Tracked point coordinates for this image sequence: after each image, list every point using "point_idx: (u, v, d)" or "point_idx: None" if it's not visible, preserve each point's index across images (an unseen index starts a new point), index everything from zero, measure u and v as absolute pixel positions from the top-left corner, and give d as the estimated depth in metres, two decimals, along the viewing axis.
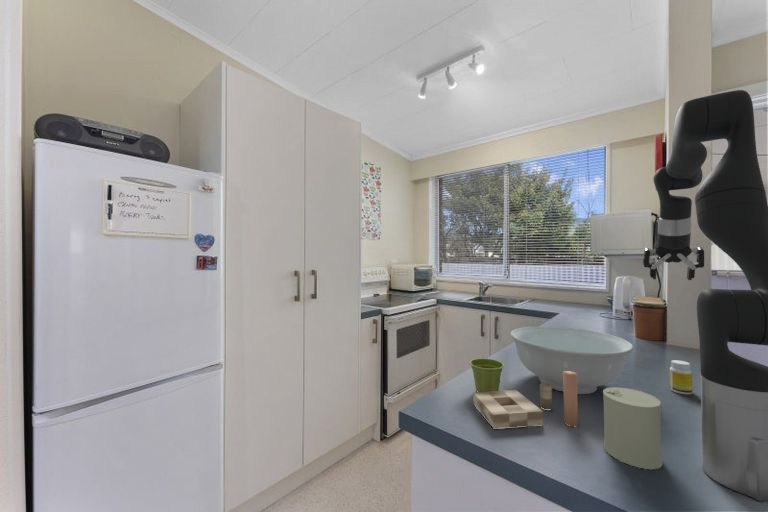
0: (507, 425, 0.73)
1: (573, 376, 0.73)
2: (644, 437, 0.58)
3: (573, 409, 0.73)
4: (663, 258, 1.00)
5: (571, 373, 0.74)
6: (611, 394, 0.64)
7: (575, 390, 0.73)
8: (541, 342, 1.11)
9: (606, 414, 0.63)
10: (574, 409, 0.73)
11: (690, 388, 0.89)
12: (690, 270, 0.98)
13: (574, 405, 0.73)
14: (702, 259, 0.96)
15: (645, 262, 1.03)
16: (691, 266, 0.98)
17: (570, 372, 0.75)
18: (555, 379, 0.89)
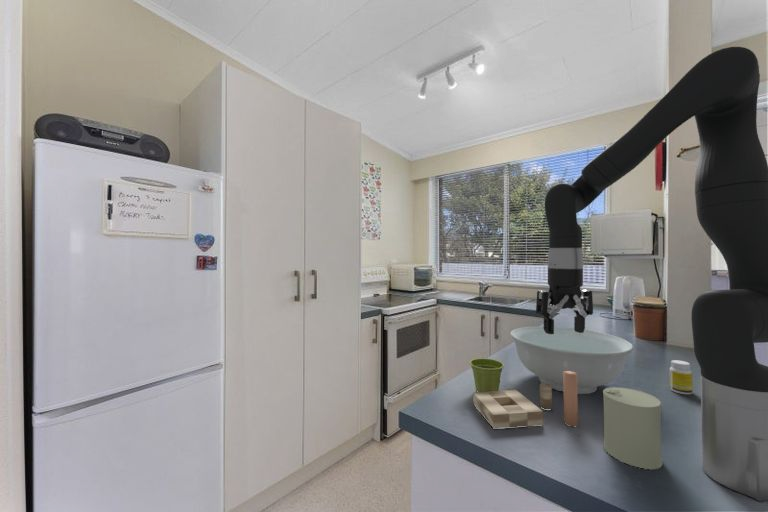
0: (507, 425, 0.73)
1: (573, 376, 0.73)
2: (644, 437, 0.58)
3: (573, 409, 0.73)
4: (561, 302, 0.75)
5: (571, 373, 0.74)
6: (611, 394, 0.64)
7: (575, 390, 0.73)
8: (541, 342, 1.11)
9: (606, 414, 0.63)
10: (574, 409, 0.73)
11: (690, 388, 0.89)
12: (582, 319, 0.77)
13: (574, 405, 0.73)
14: (591, 303, 0.78)
15: (544, 309, 0.75)
16: (583, 313, 0.77)
17: (570, 372, 0.75)
18: (555, 379, 0.89)
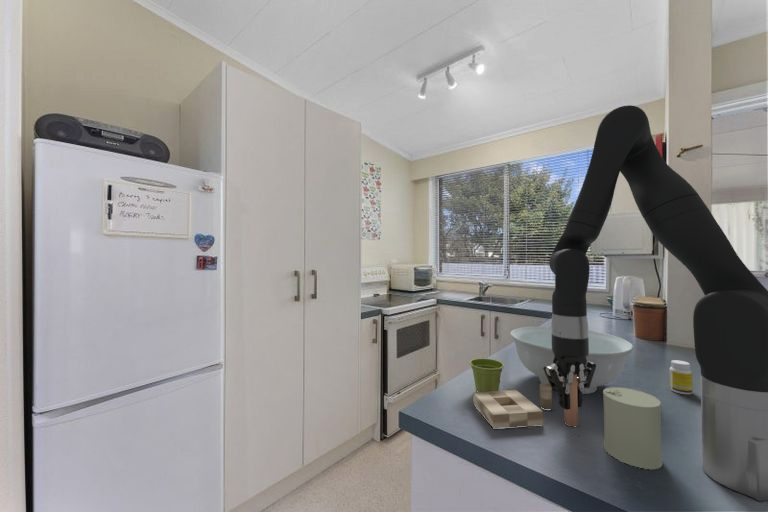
0: (507, 425, 0.73)
1: (573, 376, 0.73)
2: (644, 437, 0.58)
3: (573, 409, 0.73)
4: (570, 374, 0.72)
5: None
6: (611, 394, 0.64)
7: (575, 390, 0.73)
8: (541, 342, 1.11)
9: (606, 414, 0.63)
10: (574, 409, 0.73)
11: (690, 388, 0.89)
12: (579, 393, 0.74)
13: (574, 405, 0.73)
14: (591, 376, 0.75)
15: (558, 386, 0.72)
16: (581, 386, 0.74)
17: None
18: None
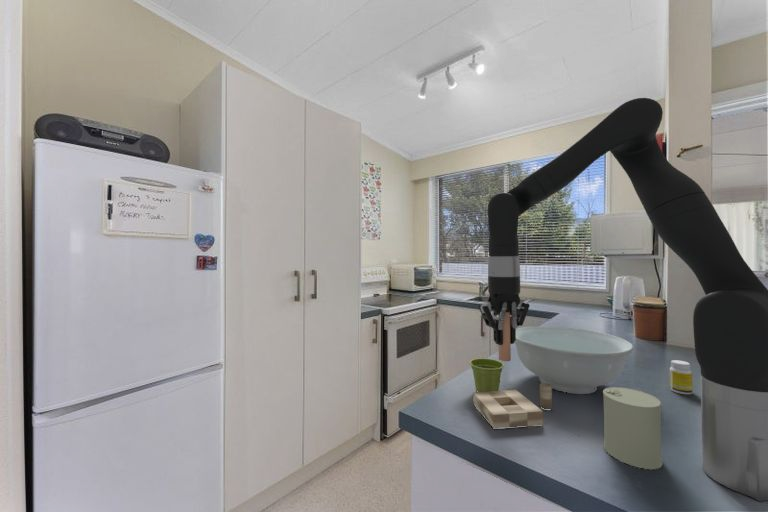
0: (507, 425, 0.73)
1: (506, 313, 0.78)
2: (644, 437, 0.58)
3: (506, 344, 0.78)
4: (502, 311, 0.77)
5: None
6: (611, 394, 0.64)
7: (507, 326, 0.78)
8: (541, 342, 1.11)
9: (606, 414, 0.63)
10: (506, 344, 0.78)
11: (690, 388, 0.89)
12: (512, 330, 0.79)
13: (506, 340, 0.78)
14: (524, 315, 0.79)
15: (491, 322, 0.77)
16: (514, 324, 0.78)
17: None
18: (555, 379, 0.89)
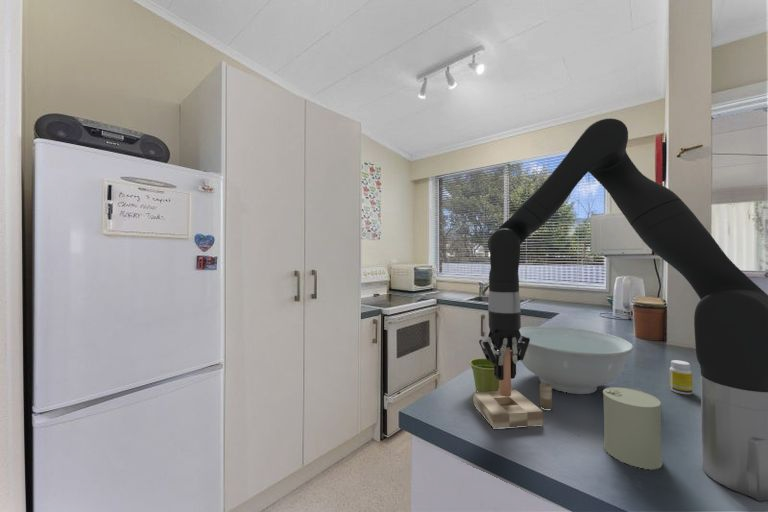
0: (507, 425, 0.73)
1: (506, 349, 0.78)
2: (644, 437, 0.58)
3: (506, 379, 0.78)
4: (503, 346, 0.77)
5: None
6: (611, 394, 0.64)
7: (508, 362, 0.78)
8: (541, 342, 1.11)
9: (606, 414, 0.63)
10: (507, 379, 0.78)
11: (690, 388, 0.89)
12: (513, 365, 0.78)
13: (507, 376, 0.78)
14: (524, 349, 0.79)
15: (491, 357, 0.77)
16: (514, 359, 0.78)
17: None
18: (555, 379, 0.89)
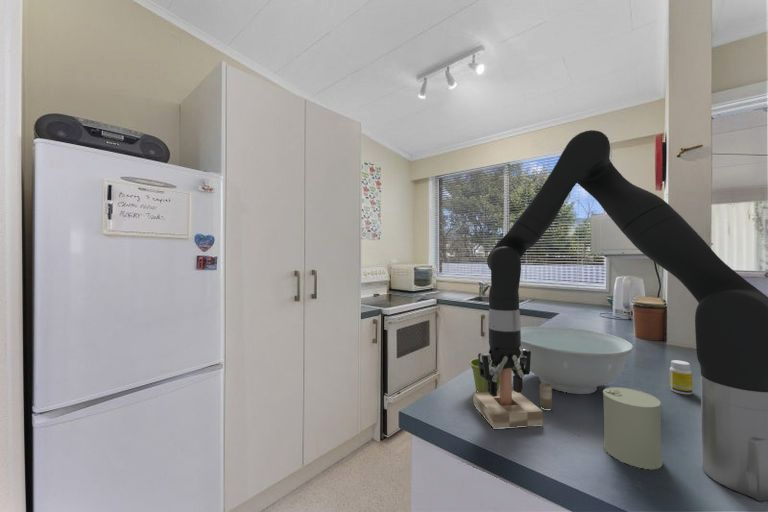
0: (507, 425, 0.73)
1: (507, 370, 0.78)
2: (644, 437, 0.58)
3: (507, 401, 0.78)
4: (501, 364, 0.77)
5: None
6: (611, 394, 0.64)
7: (509, 383, 0.78)
8: (541, 342, 1.11)
9: (606, 414, 0.63)
10: (508, 401, 0.78)
11: (690, 388, 0.89)
12: (519, 379, 0.79)
13: (508, 397, 0.78)
14: (528, 363, 0.79)
15: (486, 373, 0.76)
16: (520, 373, 0.79)
17: None
18: (555, 379, 0.89)
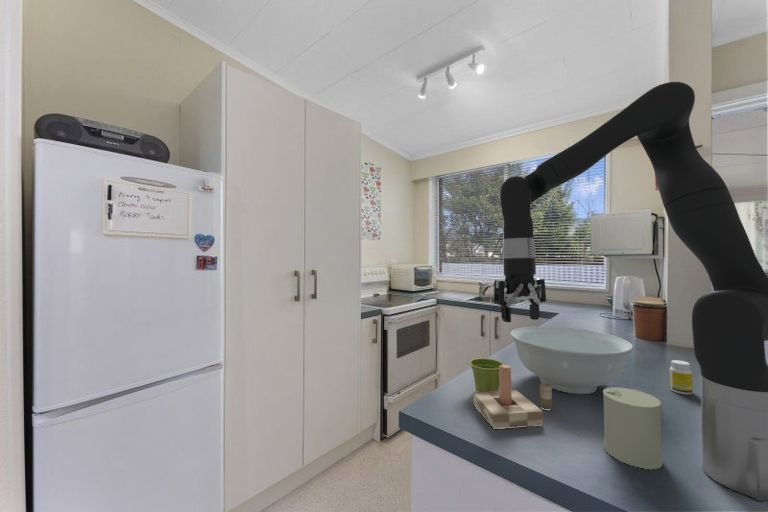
0: (507, 425, 0.73)
1: (507, 370, 0.78)
2: (644, 437, 0.58)
3: (507, 401, 0.78)
4: (517, 290, 0.78)
5: (505, 367, 0.78)
6: (611, 394, 0.64)
7: (508, 383, 0.78)
8: (541, 342, 1.11)
9: (606, 414, 0.63)
10: (507, 401, 0.78)
11: (690, 388, 0.89)
12: (536, 306, 0.81)
13: (507, 397, 0.78)
14: (544, 291, 0.81)
15: (501, 297, 0.77)
16: (537, 300, 0.80)
17: (505, 366, 0.79)
18: (555, 379, 0.89)
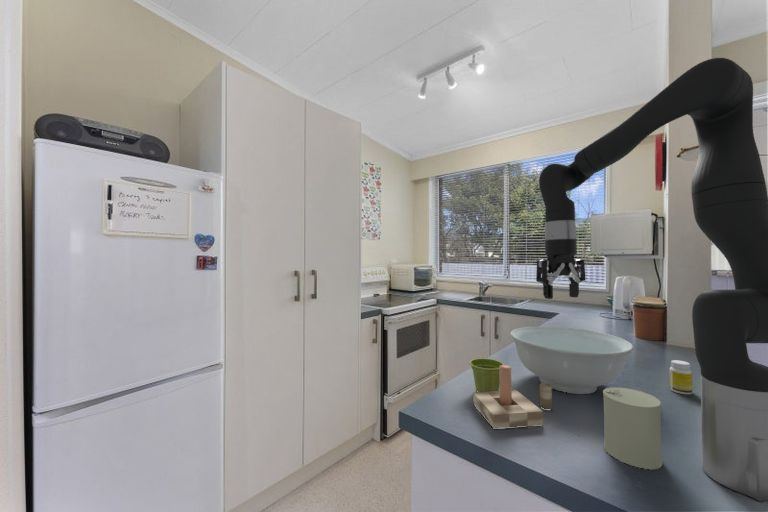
0: (507, 425, 0.73)
1: (507, 370, 0.78)
2: (644, 437, 0.58)
3: (507, 401, 0.78)
4: (558, 269, 0.84)
5: (505, 367, 0.78)
6: (611, 394, 0.64)
7: (509, 383, 0.78)
8: (541, 342, 1.11)
9: (606, 414, 0.63)
10: (508, 401, 0.78)
11: (690, 388, 0.89)
12: (576, 285, 0.86)
13: (508, 397, 0.78)
14: (583, 270, 0.87)
15: (544, 276, 0.83)
16: (577, 279, 0.86)
17: (505, 366, 0.79)
18: (555, 379, 0.89)
